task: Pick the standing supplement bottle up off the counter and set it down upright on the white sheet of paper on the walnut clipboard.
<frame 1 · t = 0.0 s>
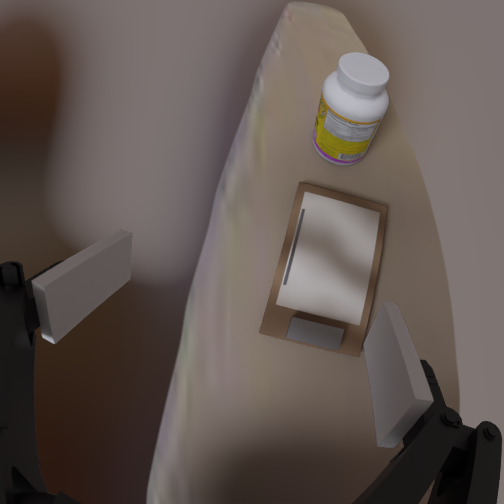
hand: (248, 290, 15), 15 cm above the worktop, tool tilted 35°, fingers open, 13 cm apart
supplement bottle: (338, 145, 34), on the worktop
clipboard: (328, 267, 30), on the worktop
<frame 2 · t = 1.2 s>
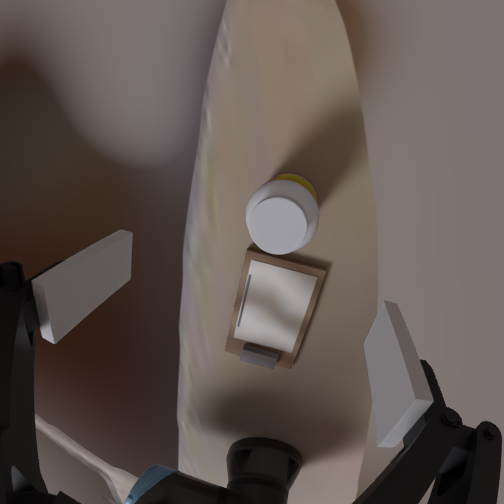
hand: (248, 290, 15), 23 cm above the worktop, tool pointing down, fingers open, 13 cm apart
supplement bottle: (289, 200, 36), on the worktop
clipboard: (272, 312, 41), on the worktop
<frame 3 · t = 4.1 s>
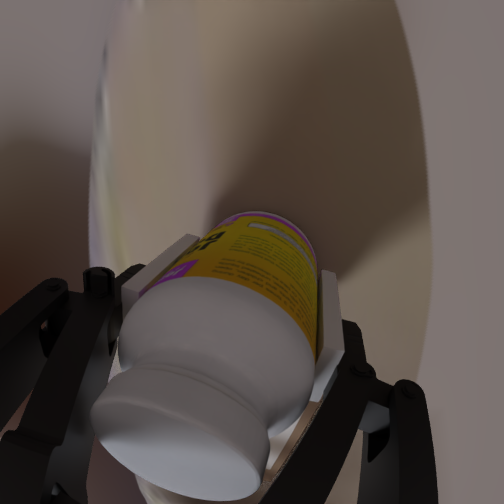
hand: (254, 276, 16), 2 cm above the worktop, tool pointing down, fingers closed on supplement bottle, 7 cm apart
supplement bottle: (259, 263, 18), on the worktop, touching gripper
clipboard: (238, 424, 23), on the worktop
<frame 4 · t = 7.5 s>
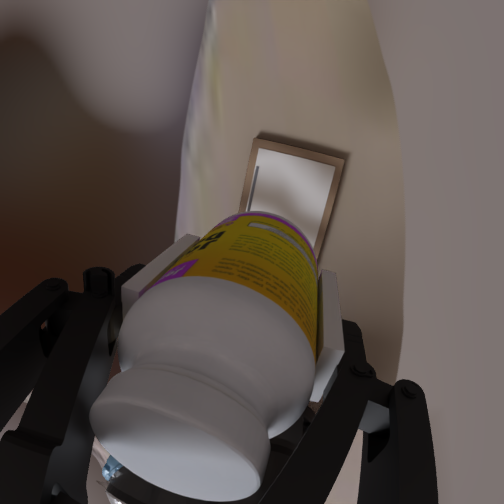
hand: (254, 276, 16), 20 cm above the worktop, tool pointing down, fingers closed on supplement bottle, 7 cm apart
supplement bottle: (259, 263, 18), point 18 cm above the worktop, touching gripper
clipboard: (283, 215, 35), on the worktop
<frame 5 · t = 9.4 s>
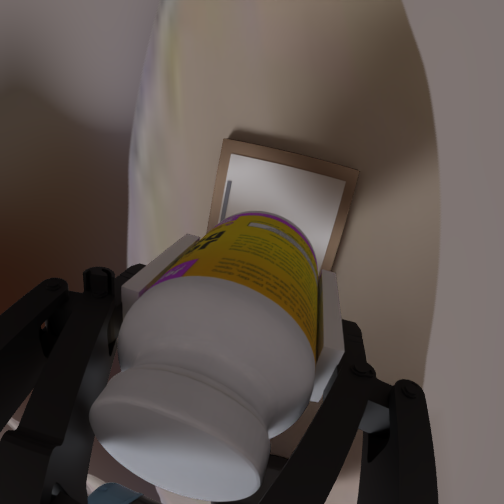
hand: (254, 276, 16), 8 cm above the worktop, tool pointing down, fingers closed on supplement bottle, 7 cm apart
supplement bottle: (259, 263, 18), point 7 cm above the worktop, touching gripper
clipboard: (268, 251, 25), on the worktop
when the fingers open (4 cm above the worktop, at t = 11.1 s): supplement bottle drops 1 cm, resting on clipboard.
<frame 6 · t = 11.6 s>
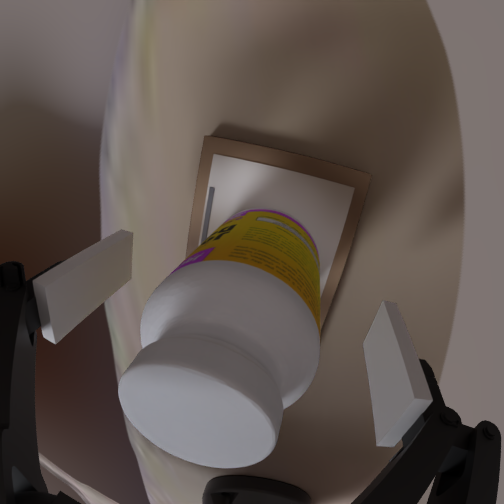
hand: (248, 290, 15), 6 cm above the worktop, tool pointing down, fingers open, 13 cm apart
supplement bottle: (265, 257, 19), point 1 cm above the worktop, touching clipboard
clipboard: (260, 271, 21), on the worktop
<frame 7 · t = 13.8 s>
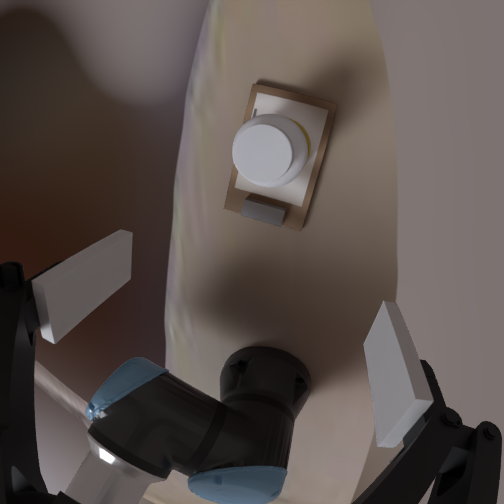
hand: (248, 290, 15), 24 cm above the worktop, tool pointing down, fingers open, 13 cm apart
supplement bottle: (282, 145, 34), point 1 cm above the worktop, touching clipboard
clipboard: (279, 156, 36), on the worktop
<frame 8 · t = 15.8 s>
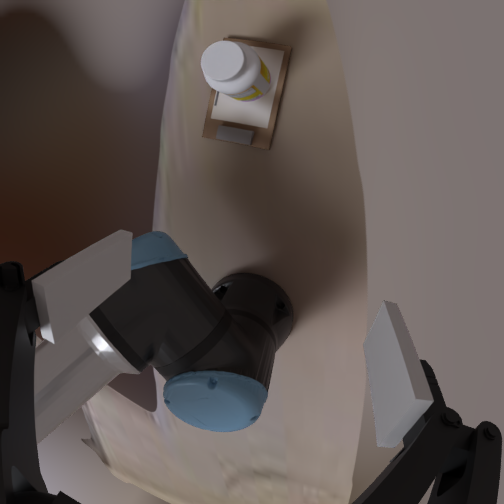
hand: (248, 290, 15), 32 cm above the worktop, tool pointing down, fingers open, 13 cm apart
supplement bottle: (248, 81, 39), point 1 cm above the worktop, touching clipboard
clipboard: (247, 91, 40), on the worktop
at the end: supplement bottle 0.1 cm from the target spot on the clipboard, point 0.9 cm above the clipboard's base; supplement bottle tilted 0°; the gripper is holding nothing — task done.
